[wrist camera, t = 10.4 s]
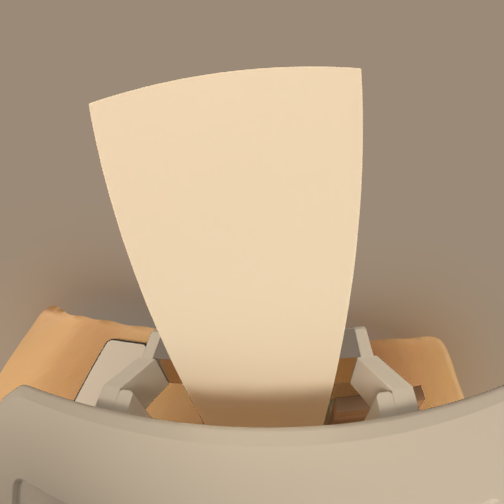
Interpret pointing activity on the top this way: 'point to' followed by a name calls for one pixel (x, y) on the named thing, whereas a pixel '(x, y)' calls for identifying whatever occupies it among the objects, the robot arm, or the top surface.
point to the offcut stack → (355, 408)
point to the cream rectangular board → (242, 230)
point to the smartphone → (108, 367)
